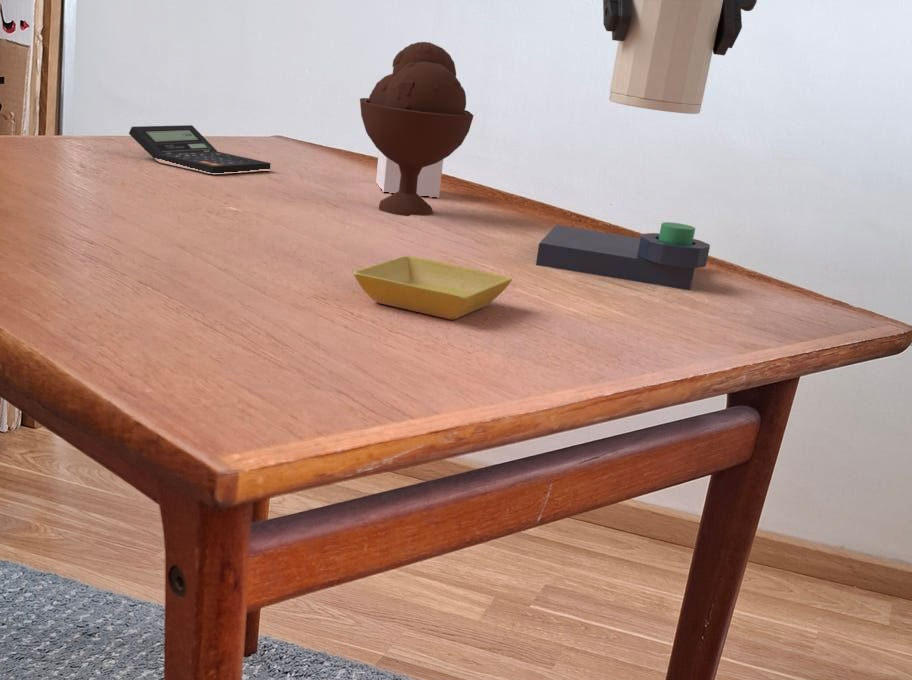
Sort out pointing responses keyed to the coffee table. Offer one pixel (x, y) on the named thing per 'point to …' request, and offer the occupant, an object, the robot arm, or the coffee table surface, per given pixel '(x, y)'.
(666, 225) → the button
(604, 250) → the scale
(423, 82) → the ice cream bowl
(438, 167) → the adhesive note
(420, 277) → the yellow shallow tray
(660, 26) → the faceted pencil cup
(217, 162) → the calculator
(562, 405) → the coffee table surface
